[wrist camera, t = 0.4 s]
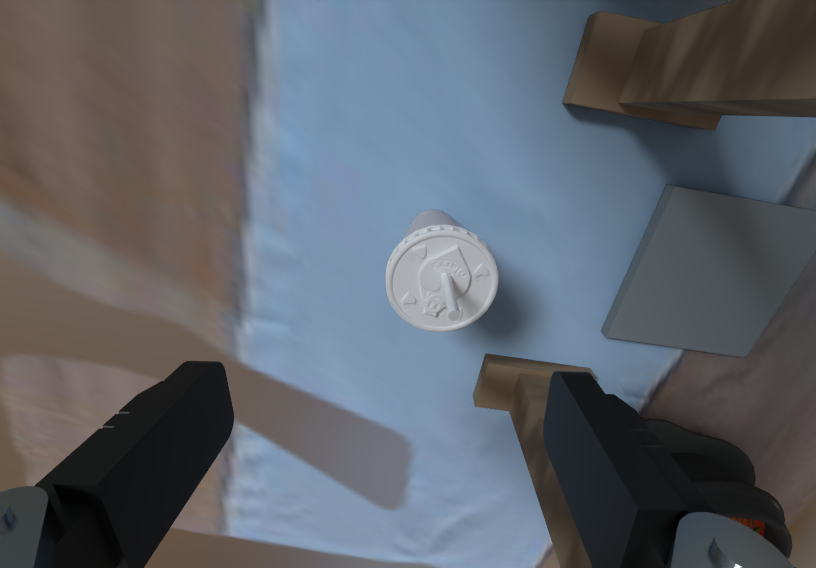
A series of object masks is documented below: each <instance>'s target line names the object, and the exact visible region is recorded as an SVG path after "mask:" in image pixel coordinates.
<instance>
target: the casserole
mask: <svg viewBox="0 0 816 568" xmlns="http://www.w3.org/2000/svg"><path fill="white" fill-rule="evenodd" d="M644 422H645V423H646V424H647V425H648V427H649V428H650V432H653V433H654V434H655V436H656V437H657V438H658V440H659V441H660V442H661V443H662V447H663V448H666V450H667V451H668V452H669V454H670V455H671V456H672V457H673V459H674V460H675V461H676V463H677V464H678V465H679V466H680V468H681V469H682V470H683V471H684V473H685V474H686V475H687V477H688V478H689V479H690V480H691V482H692V483H693V484H694V486H695V487H696V488H697V489H698V491H699V492H700V493H701V494H702V496H703V497H704V498H705V500H706V501H707V502H708V503H709V505H710V506H711V507H712V508H713V510H714V511H715V512H716V514H718V515H721V516H724V517H727V518H730V519H732V520H735V521H737V522H739V523H741V524H743V525H745V526H747V527H748V528H750V529H752V530H753V531H755V532H757V533H758V534H760V535H761V536H762V537H764V538H765V539H766V540H768V541H769V542H770V543H771V544H773V545H774V546H775V547H776V548H777V549H778V550H779V551H780V552H781V553H782V554H783V555H784V556H785V557H786V558H787V559H788V558H789V556H790V553H791V549H792V540H791V535H790V533H789V531H788V529H787V527H786V525H785V518H784V512H783V509H782V507H781V505H780V504H779V502H778V500H776V499H775V498H774V497H773V496H772V495H770V494H769V493H768V492H766V491H764V490H762V489H760V488H757V487H755V486H754V484H755V472H754V467H753V465H752V463H751V461H750V460H749V458H748V456H747V455H746V454H745V453H743V452H742V451H741V450H740V449H739V448H738V447H736V446H734V445H732V444H730V443H728V442H726V441H723V440H719V439H715V438H711V437H707V436H703V435H699V434H695V433H692V432H689V431H687V430H685V429H683V428H681V427H679V426H677V425H675V424H672V423H670V422H667V421H665V420H645V421H644Z"/></svg>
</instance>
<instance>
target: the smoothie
mask: <svg viewBox="0 0 816 568" xmlns="http://www.w3.org/2000/svg"><path fill="white" fill-rule="evenodd" d="M385 276H386V290H387V295H388V298H389V301H390V303H391V305H392V307H393V308H394V310H395V311H396V312H397V313H398V315H399V316H400V317H401V318H403V319H404V320H405V321H406V322H408V323H409V324H411V325H413V326H415V327H417V328H420V329H423V330H427V331H432V332H448V331H454V330H458V329H461V328H463V327H466V326H468V325H470V324H471V323H473V322H475V321H476V320H478V319H479V318H480V317H481V316H482V315H483V314H484V313H485V312H486V311H487V310H488V308H489V307H490V305H491V304H492V302H493V300H494V298H495V296H496V292H497V288H498V270H497V266H496V263H495V261H494V258H493V255H492V253H491V251H490V250H489V248H488V247H487V245H486V243H485V242H483V241H482V240H481V239H480V238H479V237H478V236H477V235H476V234H474V233H472V232H470V231H468V230H466V229H464V228H462V227H460V226H459V225H458V224H457V223H456V222H455V221H454V220H453V219H452V218H451V217H450V216H449V215H448V214H446V213H445V212H443V211H440V210H426V211H424V212H422V213H420V214H418V215H417V216H416V217H415V218H414V219H413V221H412V223H411V225H410V227H409V229H408V231H407V234H406V236H405V238H404V239H403V240H402V241H401V242H400V244H399V245H398V246H397V247H396V248H395V249H394V251H393V253H392V255H391V257H390V259H389V261H388V264H387V269H386V275H385Z"/></svg>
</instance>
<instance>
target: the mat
mask: <svg viewBox="0 0 816 568" xmlns="http://www.w3.org/2000/svg"><path fill="white" fill-rule="evenodd" d="M815 252H816V211H815V210H810V209H804V208H798V207H793V206H787V205H781V204H776V203H770V202H764V201H759V200H753V199H747V198H742V197H736V196H730V195H725V194H719V193H714V192H708V191H702V190H697V189H691V188H685V187H680V186H674V185H668V184H667V185H666V187H665V189H664V192H663V194H662V196H661V198H660V200H659V203H658V205H657V207H656V209H655V212H654V214H653V216H652V218H651V220H650V223H649V225H648V227H647V229H646V232H645V234H644V236H643V238H642V240H641V243H640V245H639V247H638V249H637V252H636V254H635V256H634V258H633V261H632V263H631V265H630V267H629V269H628V272H627V274H626V276H625V278H624V281H623V283H622V285H621V287H620V289H619V292H618V294H617V296H616V298H615V301H614V303H613V305H612V307H611V309H610V312H609V314H608V316H607V318H606V321H605V323H604V325H603V327H602V329H601V332H602V333H603V334H604V335H605V336H606V337H608V338H615V339H622V340H628V341H635V342H642V343H649V344H656V345H663V346H669V347H676V348H683V349H690V350H697V351H703V352H710V353H717V354H724V355H731V356H738V357H744V358H746V356H747V355H748V353H749V352H750V350H751V349H752V347H753V346H754V344H755V343H756V341H757V339H758V338H759V336H760V335H761V333H762V332H763V330H764V329H765V327H766V326H767V324H768V323H769V321H770V320H771V318H772V317H773V315H774V314H775V312H776V311H777V309H778V308H779V306H780V305H781V303H782V302H783V300H784V299H785V297H786V296H787V294H788V293H789V291H790V290H791V288H792V287H793V285H794V284H795V282H796V281H797V279H798V278H799V276H800V275H801V273H802V272H803V270H804V269H805V267H806V266H807V264H808V263H809V261H810V260H811V258H812V257H813V255H814V254H815Z"/></svg>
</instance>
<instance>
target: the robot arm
mask: <svg viewBox="0 0 816 568" xmlns="http://www.w3.org/2000/svg"><path fill="white" fill-rule="evenodd" d="M233 422H234V412H233V407H232V402H231V397H230V392H229V387H228V382H227V377H226V372H225V369H224V366H223V364H222V363H220V362H211V361H209V362H208V361H186V362H184V363H183V364H182V365H180V366H179V367H178V368H177V369H176V370H175V371H174V372H173V373H172V374H171V375H170V376H168V378H166V379H165V380H164V381H161V382H159V383H157V384H156V385H154V386H152V387H150V388H148V389H147V390H145V391H143V392H141V393H140V394H138V395H137V396H135V397H134V398H133V399H132V400H131V401H130V402H129V403H128V404H126V405H125V406H124V407H123V408H122V409H121V410H120V411H119V414H115V415H114V416H113V417H112V418H111V419H109V420H108V421H107V422H106V423H105V424H104V425H103V428H102V429H98V430H97V431H96V432H95V433H94V434H92V435H91V436H90V437H89V438H88V439H87V440H86V441H85V442H83V443H82V444H81V445H80V446H79V447H78V448H77V449H76V450H74V451H73V452H72V453H71V454H70V455H69V456H68V457H66V458H65V459H64V460H63V461H62V462H61V463H60V464H59V465H57V466H56V467H55V468H54V469H53V470H52V471H51V472H50V473H48V474H47V475H46V476H45V477H44V478H43V479H42V480H40V481H39V482H38V483H37V484H36V485H35V486H23V487H16V488H12V489H8V490H5V491H2V492H0V568H144V567H145V565H146V564H147V562H148V560H149V559H150V557H151V556H152V554H153V553H154V551H155V550H156V548H157V547H158V545H159V544H160V542H161V541H162V539H163V537H164V536H165V534H166V533H167V532H168V530H169V529H170V527H171V526H172V524H173V522H174V521H175V519H176V518H177V516H178V515H179V513H180V512H181V510H182V509H183V507H184V506H185V504H186V503H187V501H188V500H189V498H190V497H191V495H192V494H193V492H194V491H195V489H196V487H197V486H198V484H199V483H200V481H201V480H202V478H203V477H204V475H205V474H206V472H207V471H208V469H209V468H210V466H211V465H212V463H213V462H214V460H215V459H216V457H217V456H218V454H219V453H220V451H221V449H222V448H223V446H224V445H225V443H226V442H227V440H228V439H229V437H230V434H231V431H232V428H233ZM543 435H544V443H545V447H546V451H547V453H548V456H549V459H550V461H551V464H552V466H553V469H554V471H555V474H556V476H557V479H558V481H559V484H560V487H561V489H562V492H563V494H564V497H565V499H566V502H567V504H568V507H569V509H570V512H571V515H572V517H573V520H574V522H575V525H576V527H577V530H578V532H579V535H580V537H581V540H582V542H583V545H584V548H585V550H586V553H587V555H588V558H589V560H590V563H591V565H592V568H795V567H794V566H793V565H792V564H791V563H790V561H789V560H788V559H787V558H786V557H785V556H784V555H783V554H782V553H781V552H780V551H779V550H778V549H777V548H776V547H775V546H774V545H773V544H771V543H770V542H769V541H768V540H766V539H765V538H764V537H762V536H761V535H760V534H758V533H757V532H755V531H753V530H752V529H750V528H748V527H747V526H745V525H743V524H741V523H739V522H737V521H735V520H732V519H730V518H727V517H724V516H721V515H718V514H716V512H715V511H714V510H713V508H712V507H711V506H710V505H709V503H708V502H707V501H706V500H705V498H704V497H703V496H702V494H701V493H700V492H699V491H698V489H697V488H696V487H695V486H694V484H693V483H692V482H691V480H690V479H689V478H688V477H687V475H686V474H685V473H684V471H683V470H682V469H681V468H680V466H679V465H678V464H677V463H676V461H675V460H674V459H673V457H672V456H671V455H670V454H669V452H668V451H667V450H666V448H663V447H662V443H661V442H660V441H659V440H658V438H657V437H656V436H655V434H654V433H653V432H650V428H649V427H648V425H647V424H646V423H645V422H644V420H643V419H642V418H641V417H640V415H639V414H638V413H637V411H636V410H635V409H633V408H632V407H631V406H629V405H628V404H626V403H625V402H624V401H622V400H621V399H620V398H618V397H617V396H615V395H613V394H605V393H604V392H603V390H602V389H601V387H600V386H599V385H598V383H597V382H596V380H595V379H594V378H593V376H592V375H591V374H590V373H589V372H573V371H555V372H553V374H552V376H551V380H550V386H549V392H548V399H547V405H546V411H545V417H544V424H543Z"/></svg>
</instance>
